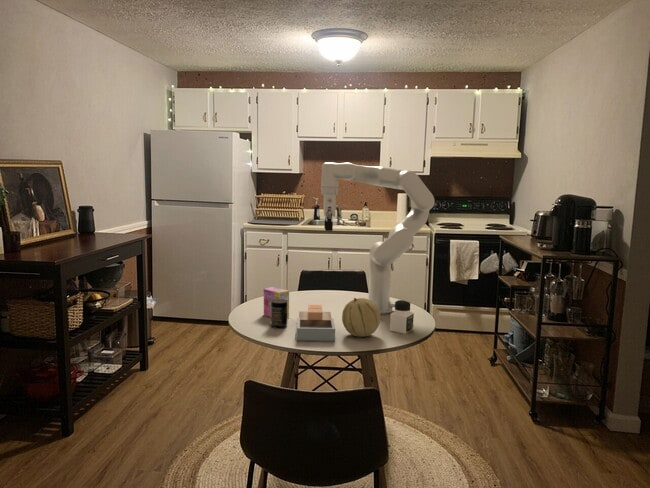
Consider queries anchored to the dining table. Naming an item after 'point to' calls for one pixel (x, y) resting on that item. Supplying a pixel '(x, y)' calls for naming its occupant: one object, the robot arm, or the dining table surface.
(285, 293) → the box
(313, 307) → the tile rear
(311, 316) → the tile front
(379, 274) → the robot arm
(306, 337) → the tray
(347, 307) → the cantaloupe
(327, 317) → the brown flat block
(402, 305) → the medicine bottle
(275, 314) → the supplement container
